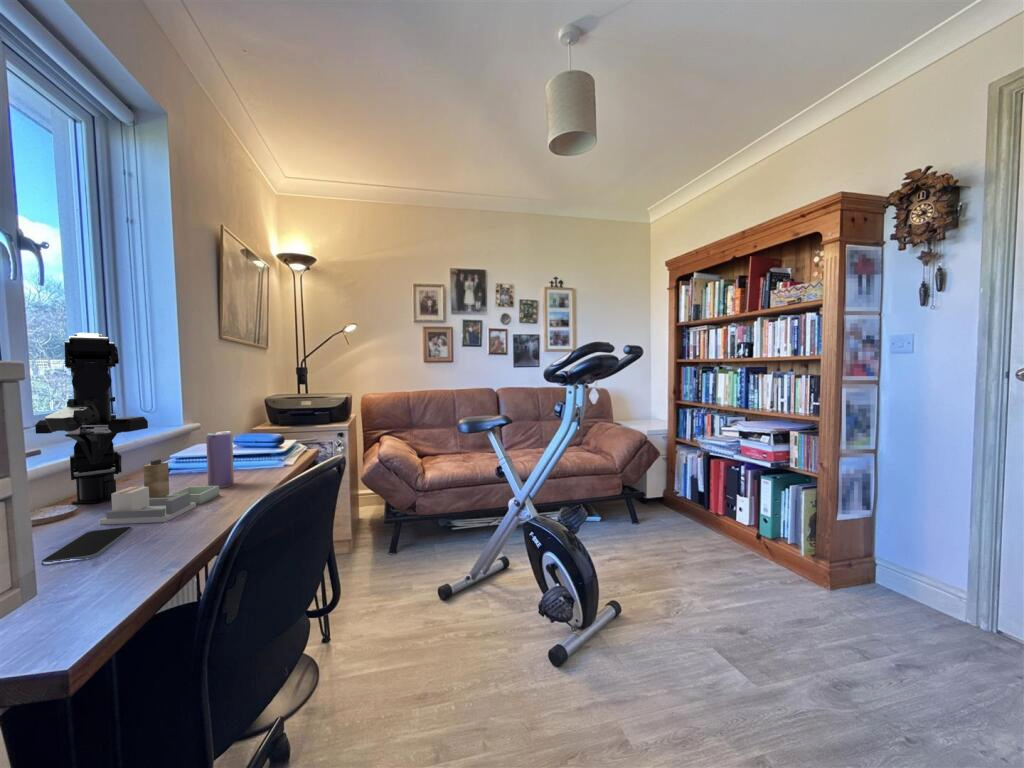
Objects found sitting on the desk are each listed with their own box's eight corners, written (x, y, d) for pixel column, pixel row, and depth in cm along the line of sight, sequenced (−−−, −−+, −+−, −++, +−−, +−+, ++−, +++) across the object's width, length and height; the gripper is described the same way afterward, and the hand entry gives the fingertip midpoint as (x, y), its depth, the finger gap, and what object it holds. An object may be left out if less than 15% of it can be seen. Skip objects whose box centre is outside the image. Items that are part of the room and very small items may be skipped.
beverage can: (224, 488, 114) (222, 434, 114) (202, 488, 115) (200, 434, 114) (238, 482, 120) (237, 431, 120) (218, 482, 120) (216, 431, 120)
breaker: (112, 513, 91) (111, 492, 91) (130, 506, 96) (130, 486, 96) (132, 512, 92) (131, 492, 91) (149, 505, 97) (148, 485, 96)
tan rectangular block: (144, 501, 104) (143, 461, 103) (155, 497, 107) (153, 458, 107) (159, 501, 104) (157, 461, 104) (169, 496, 108) (167, 458, 107)
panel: (99, 524, 89) (99, 505, 89) (137, 508, 99) (136, 491, 99) (165, 521, 90) (164, 503, 90) (196, 506, 100) (195, 489, 100)
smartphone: (134, 525, 87) (95, 554, 73) (134, 530, 87) (95, 560, 73) (87, 531, 84) (37, 562, 70) (87, 535, 84) (37, 567, 70)
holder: (167, 505, 100) (166, 495, 100) (188, 496, 108) (188, 486, 108) (200, 504, 101) (200, 494, 101) (219, 495, 109) (219, 485, 109)
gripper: (4, 396, 83) (8, 474, 84) (106, 395, 85) (109, 471, 86) (59, 393, 94) (62, 461, 95) (148, 392, 96) (151, 459, 97)
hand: (95, 463), depth 93 cm, fingers closed
